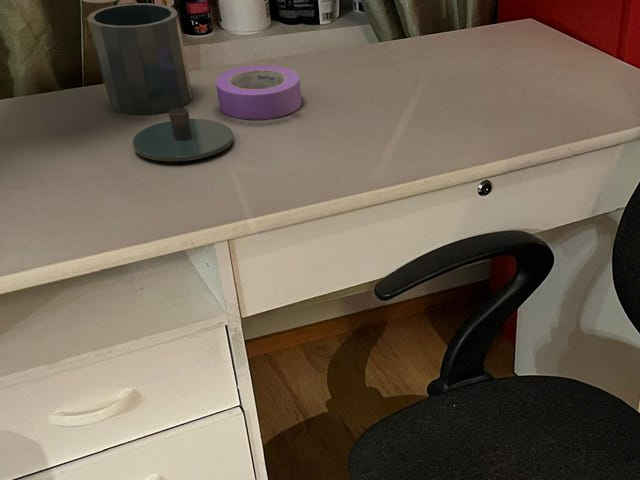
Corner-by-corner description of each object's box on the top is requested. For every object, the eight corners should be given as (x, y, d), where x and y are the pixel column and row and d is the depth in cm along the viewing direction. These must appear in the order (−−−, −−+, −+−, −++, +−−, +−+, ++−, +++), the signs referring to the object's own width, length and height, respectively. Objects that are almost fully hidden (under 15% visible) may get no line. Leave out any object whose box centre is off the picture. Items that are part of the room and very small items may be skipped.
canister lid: (126, 167, 108) (117, 131, 105) (143, 128, 118) (136, 94, 115) (229, 164, 109) (223, 128, 106) (238, 125, 119) (233, 92, 116)
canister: (100, 116, 121) (79, 27, 113) (117, 87, 130) (97, 3, 123) (186, 113, 122) (170, 26, 115) (196, 85, 131) (182, 2, 124)
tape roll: (288, 122, 120) (285, 95, 118) (207, 117, 121) (203, 90, 119) (311, 93, 130) (308, 67, 127) (235, 88, 131) (232, 62, 128)
